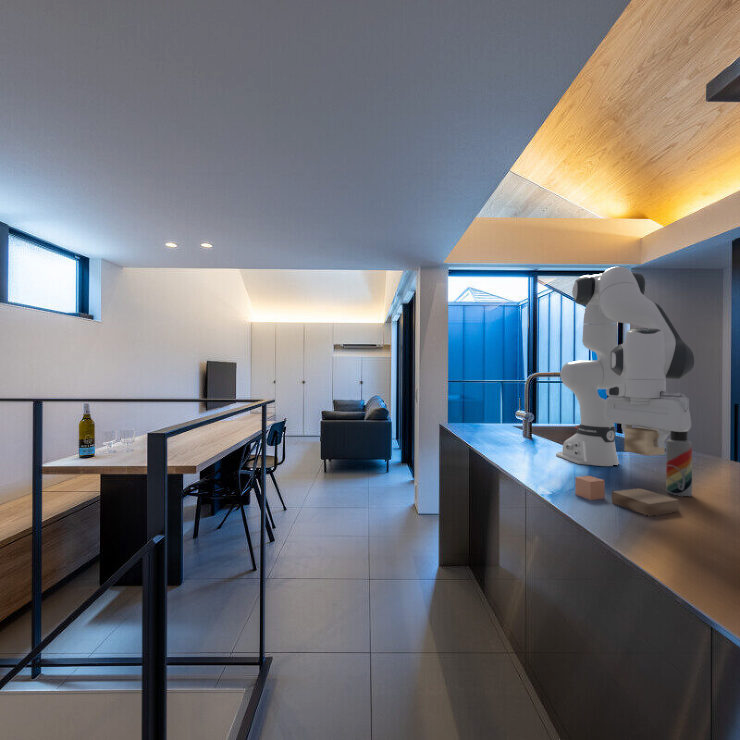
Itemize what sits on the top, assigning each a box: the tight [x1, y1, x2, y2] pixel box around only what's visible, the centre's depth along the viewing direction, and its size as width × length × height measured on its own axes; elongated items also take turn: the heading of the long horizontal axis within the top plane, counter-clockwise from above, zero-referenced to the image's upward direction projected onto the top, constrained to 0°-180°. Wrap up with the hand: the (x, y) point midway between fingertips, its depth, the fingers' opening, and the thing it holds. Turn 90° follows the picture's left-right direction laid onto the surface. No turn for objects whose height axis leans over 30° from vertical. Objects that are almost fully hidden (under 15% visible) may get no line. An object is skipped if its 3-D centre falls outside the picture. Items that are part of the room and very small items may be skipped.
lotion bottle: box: [665, 430, 693, 497], centre depth 109 cm, size 6×6×20 cm
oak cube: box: [624, 426, 666, 457], centre depth 98 cm, size 6×6×6 cm
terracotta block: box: [574, 475, 606, 501], centre depth 107 cm, size 5×5×5 cm
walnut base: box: [611, 487, 680, 517], centre depth 98 cm, size 10×10×3 cm
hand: (644, 444), depth 98 cm, fingers closed on oak cube, 6 cm apart
